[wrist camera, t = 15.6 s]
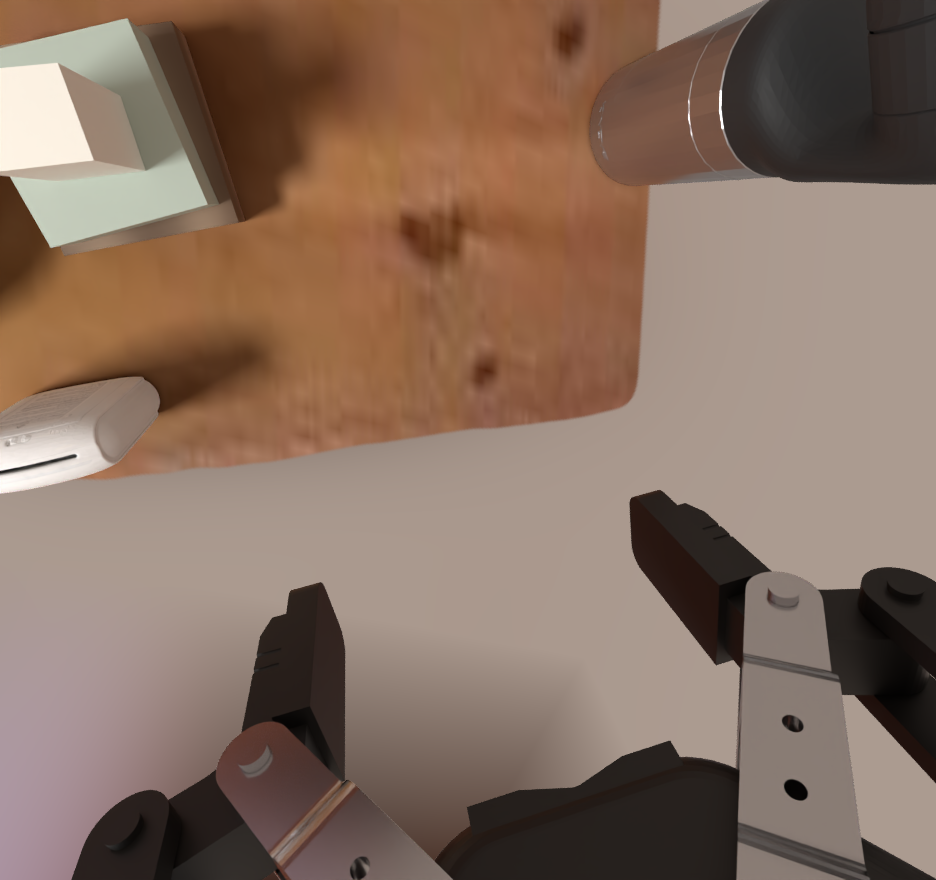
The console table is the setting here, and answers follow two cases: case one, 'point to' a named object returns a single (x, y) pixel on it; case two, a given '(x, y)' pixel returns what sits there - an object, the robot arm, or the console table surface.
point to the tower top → (154, 128)
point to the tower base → (203, 134)
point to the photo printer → (73, 431)
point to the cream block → (62, 126)
